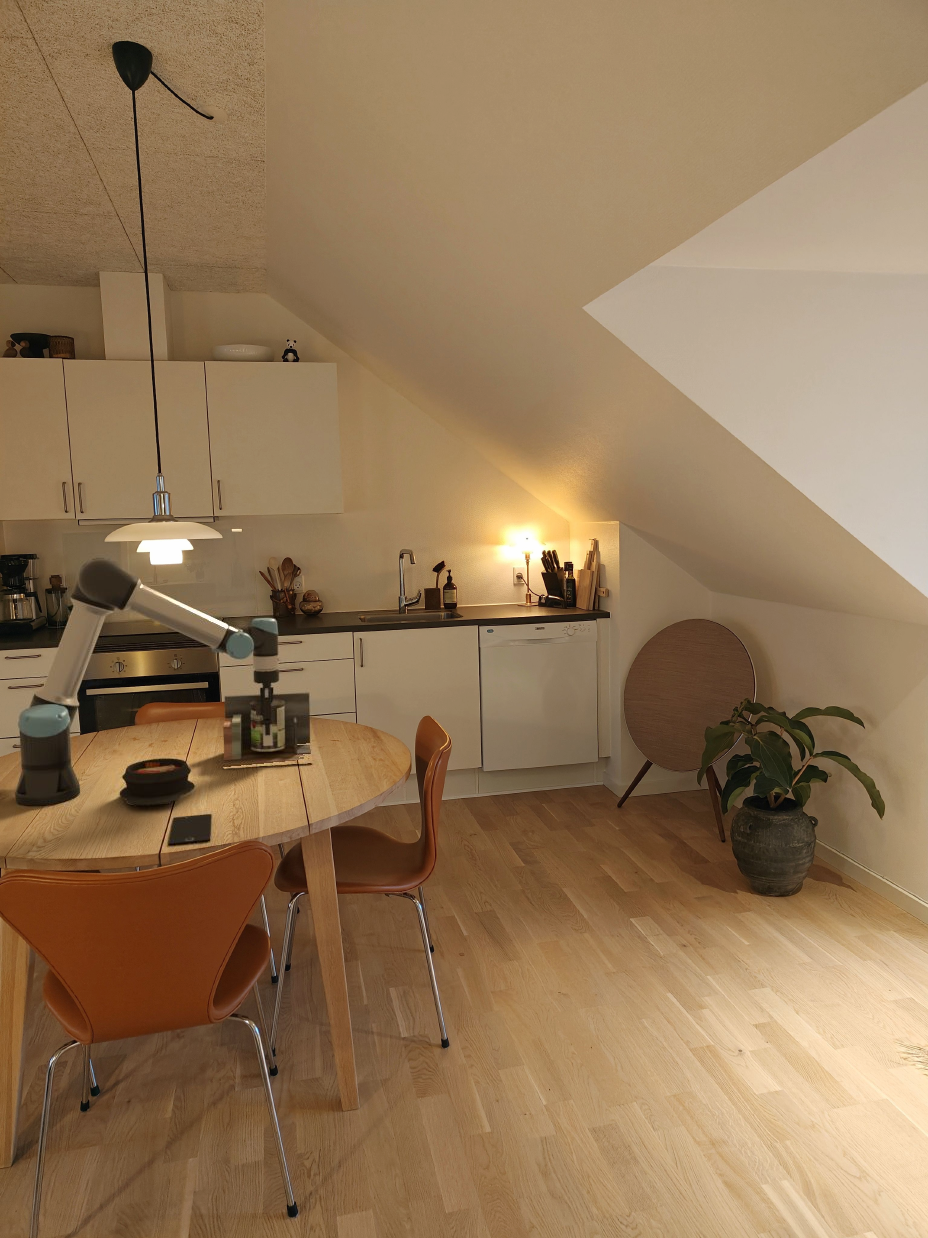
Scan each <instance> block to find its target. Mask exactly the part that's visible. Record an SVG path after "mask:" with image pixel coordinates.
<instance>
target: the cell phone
mask: <svg viewBox="0 0 928 1238" xmlns="http://www.w3.org/2000/svg"><path fill="white" fill-rule="evenodd" d="M212 817H213V815H212V813H204V814H196V815H186V816H175V817H173V819H172V824H171V828H170V834H169V839H168V846H169V847H173V846H183V845H185V846H186V845H194V843H195V844H204V843H210V842H211V838H210V837H211V835H212V820H211V819H212Z"/></svg>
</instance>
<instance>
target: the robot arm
mask: <svg viewBox="0 0 928 1238" xmlns="http://www.w3.org/2000/svg"><path fill="white" fill-rule="evenodd" d="M69 599H70V601H71V603H72V605H73V607H72V608H71V609H72V610H71V613H70V615H69V618H68V620H67V623H66V626H65V628H64V631H63V634H62V635H61V636H62V637H61V638H60V639H61V640H60V642H59V644H58V647H57V649H56V653H55V654H54V655H55V656H53V657H54V658H53V660H52V663H51V665H50V668H49V671H48V673H47V676H46V679H45V681H44V685H43V687H42V688H40V689H38V690H36V691H35V692H34V694H33V696H32V699H31V702H30V704H29V707H28V708H25V709H24V710H22V711H21V712H20V713H19V716H18V723H17V725H18V729H19V746H20V767H21V773H20V775H19V780H18V782H17V786H16V788H15V793H14V794H15V797H14V798H15V802H16V804H19V805H22V806H47V805H53V804H54V805H55V804H58V803H63V802H67V801H69V800H72V799H75V798H77V797H78V796H79V795H80V794H81V784H80V782H79V780H78V778H77V777H78V776H77V775H76V773H75V770H74V768H73V766H72V765H73V764H72V754H71V753H72V751H71V728H72V725H73V723H74V719H75V717H76V715H77V714H76V713H77V711H78V708H79V706H80V702H79V701H78V699H77V694H78V692H79V690H80V687H81V684H82V681H83V678H84V677H85V673H86V670H87V667H88V664H89V663H90V660H91V658H92V654H93V651H94V648H95V646H96V643H97V641H98V638H99V635H100V633H101V630H102V627H103V625H104V622H105V619H106V617H107V616H108V615H111V614H112V613H114V612H115V609H117V610H119V611H121V612H125V611H131V612H134V613H136V614H138V615H141V616H142V617H145V618H147V619H150V620H151V621H153V622H156V623H158V624H160V625H163V626H164V627H167V628H169V629H171V630H173V631H176V632H178V633H180V634H182V635H185V636H187V637H189V638H191V639H193V640H195V641H198V642H200V643H202V644H205V645H207V646H209V647H210V648H211V651H212V652H213V653H217V654H227V655H228V656H229V657H230V658H233V659H235V660H245V659H246V658H248V657H250V656H251V655H252V668H253V669H254V670H253V683H255V684H258V685H259V684H261V685H262V687H260V688H259V694H260V695H261V703H262V704H263V722H261V725H263V746H272V745H273V738H272V720H271V703H272V702H273V694H274V686H272V684H275V683H278V682H279V681H280V670H279V669H278V668H279V666H280V665H279V662H280V661H281V657H279V630H278V629H279V628H278V621H277V620H276V618H272V617H264V618H263V617H260V618H257V617H256V618H253V619H252V620H251V621H252V622H251V625H246V626H231V625H229V624H227V623H225V622H223V621H221V620H220V619H219V620H218V619H216V618H215V617H212V616H210V615H208V614H206V613H204V612H201V611H200V610H198V609H195V608H193V607H191V606H189V605H187V604H184V603H183V602H180V601H178V600H175V598H172V597H170V596H167V594H166V595H165V594H163V593H162V592H160V591H157V590H156V589H153V588H151V587H149V586H147V585H144V584H143V583H142V581H141V578H139V577H137V576H134V575H132V574H131V573H129V572H127V571H126V570H124V569H123V568H122V566H120V565H119V564H118V563H117V562H116V561H114V560H112V559H111V558H106V557H95V558H91V559H89V560H87V561H86V562H85V563H84V564H83V565H82V566H81V567H80V569H79V572H78V575H77V579H76V582H75V584H74V587H73V590H72V592H71V595H70V597H69ZM265 719H270V720H265Z"/></svg>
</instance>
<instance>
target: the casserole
mask: <svg viewBox="0 0 928 1238" xmlns="http://www.w3.org/2000/svg"><path fill="white" fill-rule="evenodd" d="M191 772H192V769H191V768H190V767H189V765H188V763H187V761H185V760H184V759H179V758H172V757H171V758H169V757H167V758H161V757H160V758H152V759H145V760H142V761H141V760H140V761H137V762H135V763H132V764H129V765H127V766H126V768H125V771H124V773H123V774H122V777H121V778H122V780H123V781H124V783H125V786H124V787H123V788H122V789H121V790H120V791H119V796H120V797H121V798H123V799H124V800H125V802H127V804H129V805H131V806H156V805H157V806H158V805H163V804H170V803H173V802H175V801H177V800H179V799H180V798H181V797H183V796H185V795H187V794H188V793H189V794H190V793H191V792H192V791H193V790H194V789H195V788H196V784H195V783H193V781H190V780H189V775H190V774H191Z"/></svg>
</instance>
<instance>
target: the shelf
mask: <svg viewBox="0 0 928 1238" xmlns="http://www.w3.org/2000/svg"><path fill="white" fill-rule="evenodd" d="M273 699H278V700H283V701H284V702H285V704H284V723H285V748H283V749H281V750H277V751H270V752H260V751H254V750H252V749H251V709H250V703H251V702H253V701H256V700H261V695H260V693H259V694H240V695H237V694H236V695H224V722H223V723H224V724H223V726H222V729H223V730H222V732H223V760H222V768H223V767H231V766H241V765H252V764H264V763H273V762H285V761H295V760H299V759H304V757H300V756H305V755H303V754H311V751H312V749H311V750H310V745H311V715H310V712H311V711H310V710H311V709H310V705H311V704H310V692H309V691H307V692H305V691H304V692H288V693H287V692H286V693H284V692H283V693H273ZM306 743H310V745H297V744H306ZM294 746H295V747H294ZM299 757H300V758H299ZM308 759H309V758H308Z"/></svg>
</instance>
